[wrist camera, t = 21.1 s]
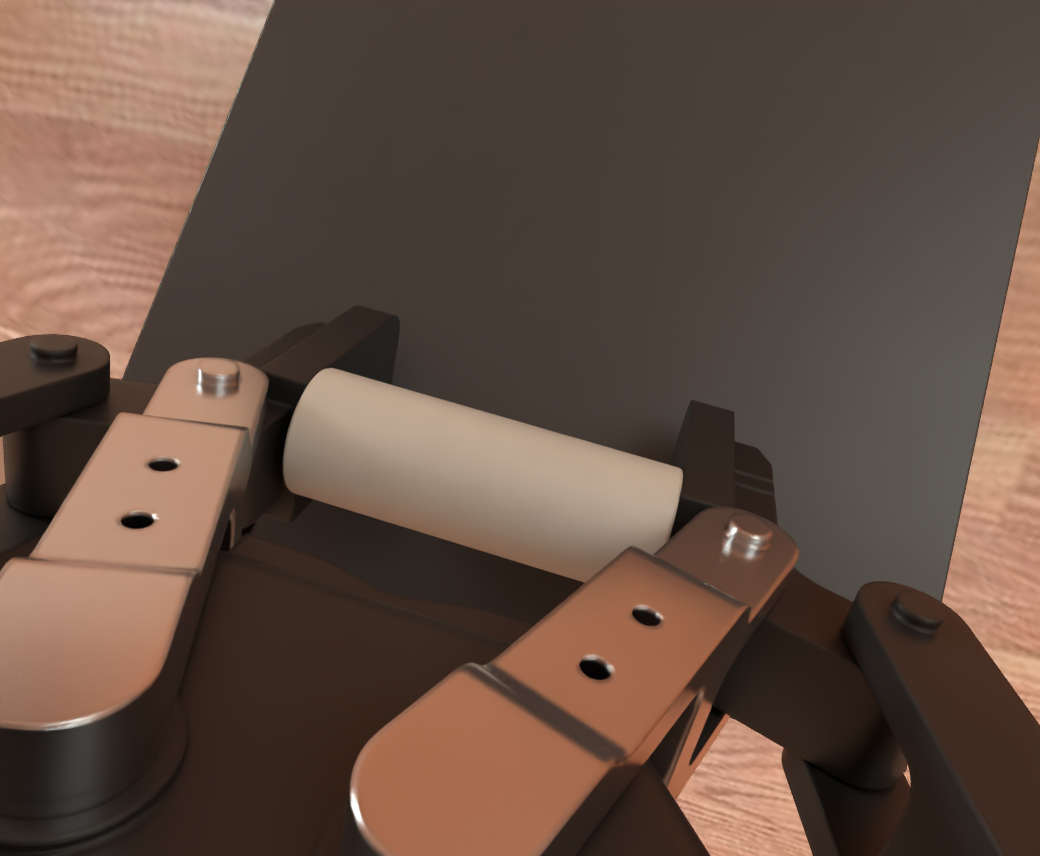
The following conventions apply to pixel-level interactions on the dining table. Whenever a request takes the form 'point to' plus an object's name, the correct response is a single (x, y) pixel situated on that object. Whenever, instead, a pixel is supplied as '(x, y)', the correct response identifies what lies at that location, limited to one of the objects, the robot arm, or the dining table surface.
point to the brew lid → (617, 272)
